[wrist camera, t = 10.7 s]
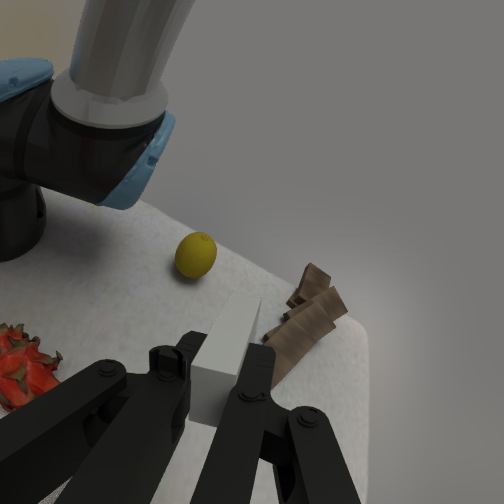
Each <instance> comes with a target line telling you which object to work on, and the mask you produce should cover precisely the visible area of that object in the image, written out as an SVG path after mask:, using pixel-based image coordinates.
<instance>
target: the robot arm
mask: <svg viewBox="0 0 504 504" xmlns="http://www.w3.org/2000/svg"><path fill="white" fill-rule="evenodd" d="M194 1H195V0H86V2H85V6H84V9H83V13H82V17H81V20H80V24H79V28H78V32H77V36H76V41H75V45H74V49H73V55H72V59H71V65H70V67H69V68H67V69H66V70H64V71H63V72H62V73H61V74H60V75H58V76H57V78H56V79H55V80H53V79H52V76H53V74H54V70H53V64H52V63H51V62H49V61H48V60H46V59H41V58H15V59H9V60H4V61H0V262H1V261H7V260H10V259H13V258H16V257H18V256H20V255H22V254H24V253H25V252H27V251H28V250H30V249H31V248H32V247H33V246H34V245H35V244H36V243H37V242H38V240H39V239H40V237H41V236H42V234H43V231H44V228H45V223H46V205H45V201H44V198H43V194H42V191H41V188H40V186H42V187H45V188H47V189H50V190H53V191H56V192H59V193H62V194H65V195H68V196H71V197H74V198H77V199H80V200H83V201H86V202H89V203H92V204H94V205H96V206H106V207H110V208H114V209H118V210H126V209H129V208H130V207H132V206H133V205H134V204H135V203H136V202H137V201H138V199H139V198H140V196H141V194H142V192H143V191H144V189H145V187H146V185H147V183H148V181H149V179H150V177H151V175H152V173H153V171H154V169H155V166H156V163H157V162H158V160H159V157H160V156H161V154H162V153H163V150H164V148H165V146H166V144H167V142H168V140H169V137H170V135H171V133H172V130H173V127H174V124H175V117H174V116H173V115H172V114H170V113H169V112H168V111H166V110H165V109H166V106H167V103H168V93H167V90H166V88H165V86H164V85H163V83H162V82H161V81H160V78H161V76H162V73H163V70H164V68H165V66H166V63H167V60H168V58H169V56H170V53H171V51H172V49H173V46H174V44H175V42H176V40H177V37H178V35H179V33H180V31H181V28H182V26H183V24H184V22H185V20H186V18H187V16H188V14H189V12H190V10H191V7H192V5H193V3H194ZM261 299H262V297H258V296H253V295H248V294H243V293H237V292H232V293H231V295H230V297H229V298H228V300H227V302H226V304H225V305H224V307H223V309H222V311H221V313H220V314H219V316H218V318H217V320H216V321H215V323H214V325H213V327H212V328H211V330H210V332H209V334H204V333H200V332H195V331H190V332H188V333H186V334H185V335H183V336H182V338H181V339H180V340H179V343H177V345H176V346H168V345H164V346H157V347H154V348H152V349H151V350H150V351H149V366H150V370H149V372H148V373H147V374H135V373H126V369H125V366H124V365H123V364H122V363H120V362H118V361H116V360H110V359H105V360H99V361H97V362H95V363H93V364H91V365H90V366H88V367H86V368H85V369H83V370H82V371H80V372H78V373H77V374H75V375H73V376H72V377H70V378H68V379H67V380H65V381H63V382H62V383H60V384H58V385H57V386H55V387H53V388H52V389H50V390H48V391H47V392H45V393H43V394H42V395H40V396H38V397H37V398H35V399H33V400H32V401H30V402H28V403H27V404H25V405H23V406H22V407H20V408H18V409H17V410H15V411H13V412H12V413H10V414H8V415H7V416H5V417H3V418H2V419H0V504H38V503H39V502H40V501H41V500H43V499H44V498H45V497H47V496H48V495H49V494H50V493H52V492H53V491H54V490H56V489H57V488H58V487H59V486H61V485H62V484H63V483H64V482H66V481H67V480H68V479H69V478H71V477H72V476H73V477H72V478H71V479H70V481H69V482H68V484H67V485H66V487H65V488H64V489H63V491H62V492H61V494H60V495H59V496H58V498H57V499H56V501H55V502H54V503H53V504H150V502H151V500H152V498H153V496H154V494H155V492H156V489H157V487H158V485H159V483H160V481H161V479H162V477H163V474H164V472H165V470H166V468H167V466H168V464H169V462H170V459H171V457H172V455H173V453H174V451H175V449H176V447H177V444H178V442H179V440H180V438H181V436H182V434H183V431H184V428H185V419H186V417H187V414H188V412H189V420H190V421H194V422H197V423H201V424H205V425H209V426H213V427H217V430H216V433H215V436H214V438H213V441H212V444H211V447H210V450H209V452H208V455H207V458H206V461H205V463H204V466H203V469H202V472H201V474H200V477H199V480H198V482H197V485H196V488H195V491H194V493H193V496H192V499H191V501H190V504H250V500H251V495H252V490H253V485H254V480H255V475H256V470H257V465H258V460H259V458H261V459H263V460H265V461H267V462H269V463H272V464H273V472H274V478H275V483H276V489H277V494H278V500H279V504H361V502H360V499H359V497H358V494H357V491H356V489H355V486H354V483H353V481H352V478H351V476H350V473H349V470H348V468H347V465H346V463H345V460H344V458H343V455H342V452H341V450H340V447H339V445H338V442H337V439H336V437H335V434H334V432H333V429H332V427H331V424H330V422H329V419H328V417H327V416H326V414H325V413H323V412H322V411H321V410H319V409H317V408H314V407H310V406H301V407H296V408H295V409H293V410H291V411H290V410H287V409H285V408H283V407H281V406H279V405H278V404H276V403H275V402H274V401H273V399H272V397H271V395H270V390H271V384H272V378H273V372H274V366H275V359H276V353H275V351H274V349H273V347H270V346H265V345H260V344H254V339H255V334H256V328H257V322H258V316H259V310H260V305H261Z"/></svg>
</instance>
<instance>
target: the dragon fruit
mask: <svg viewBox="0 0 504 504" xmlns="http://www.w3.org/2000/svg"><path fill="white" fill-rule="evenodd" d="M23 325H24V324H18V325H17V326H16V328H15V330H14V328H13V326H12V325H11V326H10V328H8V326H7V325H6V324H5V323H3V324H1V325H0V404H1V405H2V407H3V408H4V409H5V410H6V411H8V412H13V411H15V410H17V409H18V408H20V407H22V406H23V405H25V404H27V403H28V402H30V401H32V400H33V399H35V398H37V397H38V396H40V395H42V394H43V393H45V392H47V391H48V390H50V389H52V388H53V387H55V386H57V385H58V384H60V383H61V382H60V381H58V380H57V379H56V378H55V377H54V375H53V374H52V372H51V371H55V370H57V367H58V365H59V362H60V361H61V360H63V358H62V356H61V354H60V353H59V352H58V351H56V352H57V353H56V354H57V358H56V357H55V358H51V356H49V355H47V354H42V353H39V352H38V346H39V344H40V339H39V337H37V336H36V337H34V338H33V339H32V340H30V339H29V335H28V334H27V333H24V332H23ZM30 342H32V343H30ZM60 359H61V360H60Z"/></svg>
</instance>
